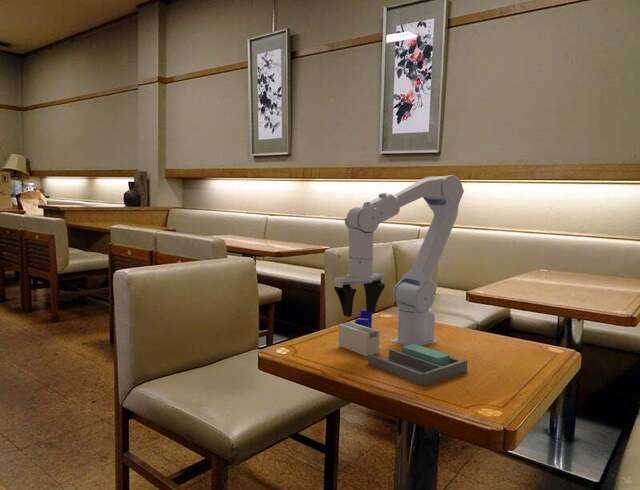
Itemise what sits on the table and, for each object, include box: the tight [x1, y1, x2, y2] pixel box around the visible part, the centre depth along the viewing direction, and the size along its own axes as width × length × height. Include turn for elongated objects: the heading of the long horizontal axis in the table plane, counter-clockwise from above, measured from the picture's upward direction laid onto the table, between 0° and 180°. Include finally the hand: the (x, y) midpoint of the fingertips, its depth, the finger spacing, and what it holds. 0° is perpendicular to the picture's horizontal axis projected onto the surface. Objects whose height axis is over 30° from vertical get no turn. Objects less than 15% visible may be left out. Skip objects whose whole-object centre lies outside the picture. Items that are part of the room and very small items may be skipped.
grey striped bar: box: [338, 321, 381, 357], centre depth 116 cm, size 4×10×6 cm, turn 38°
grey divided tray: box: [367, 344, 468, 387], centre depth 104 cm, size 14×16×3 cm
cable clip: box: [354, 308, 373, 329], centre depth 130 cm, size 12×4×6 cm, turn 169°
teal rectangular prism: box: [401, 344, 451, 367], centre depth 106 cm, size 4×10×3 cm, turn 39°
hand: (359, 313), depth 116 cm, fingers open, 7 cm apart
